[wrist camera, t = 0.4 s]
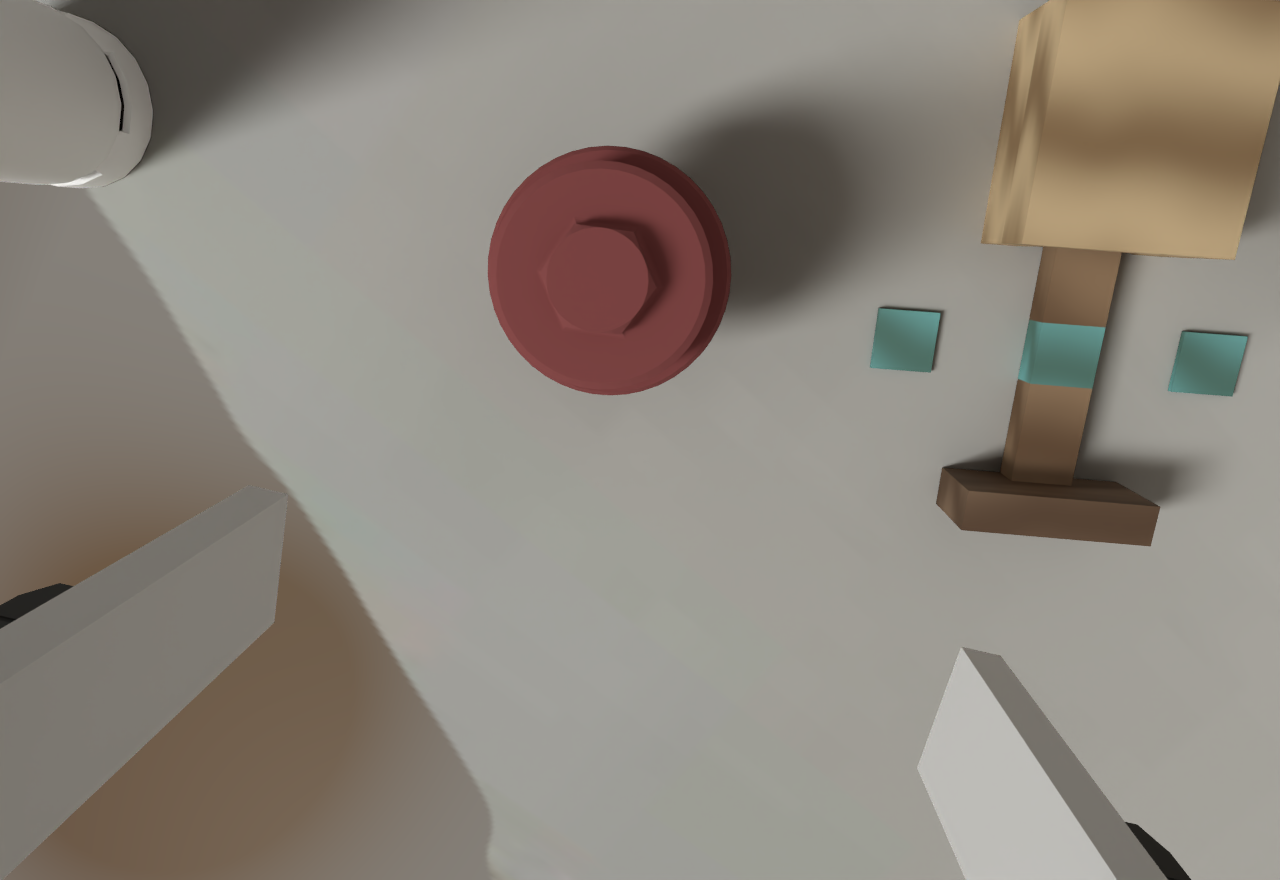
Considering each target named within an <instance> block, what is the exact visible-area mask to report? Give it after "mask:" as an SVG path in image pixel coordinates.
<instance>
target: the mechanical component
mask: <svg viewBox="0 0 1280 880" xmlns="http://www.w3.org/2000/svg"><path fill="white" fill-rule="evenodd" d="M488 280H489V289H490V295H491V299H492V302H493V306H494V310H495V312H496V315H497V317H498V320H499V322H500V325H501V327H502V328H503V330H504V332H505V334H506V335H507V337H508V339H509V340H510V342H511V343H512V344H513V346H514V347H515V348H516V349H517V351H518V352H519V353H520V354H521V355H522V356H523V357H524V358H525V359H526V360H527V361H528V362H529V363H530V364H531V365H532V366H533V367H534V368H536V369H537V370H538V371H540V372H541V373H542V374H544V375H545V376H547V377H548V378H550V379H552V380H554V381H556V382H558V383H559V384H562V385H564V386H567V387H569V388H572V389H575V390H578V391H582V392H587V393H591V394H601V395H622V394H630V393H635V392H640V391H644V390H647V389H649V388H652V387H655V386H658V385H660V384H662V383H664V382H666V381H668V380H669V379H671V378H673V377H675V376H676V375H677V374H679V373H680V372H682V371H683V370H684V369H686V368H687V367H688V366H689V365H690V364H691V363H692V362H693V361H694V360H695V359H696V358H697V357H699V356H700V354H701V353H702V352H703V351H704V350H705V348H706V347H707V345H708V344H709V343H710V341H711V339H712V338H713V336H714V334H715V332H716V331H717V329H718V327H719V325H720V322H721V320H722V317H723V315H724V312H725V309H726V305H727V301H728V297H729V292H730V282H731V260H730V253H729V247H728V242H727V238H726V235H725V232H724V229H723V226H722V223H721V221H720V219H719V217H718V215H717V213H716V211H715V209H714V207H713V205H712V204H711V203H710V201H709V200H708V198H707V197H706V195H705V194H704V193H703V191H702V190H701V189H700V188H699V187H698V186H697V185H696V184H695V183H694V182H693V181H692V180H691V178H689V177H688V176H687V175H686V174H684V173H683V172H682V171H681V170H679V169H678V168H677V167H675V166H674V165H672V164H670V163H668V162H667V161H665V160H663V159H661V158H660V157H657V156H654V155H652V154H649V153H647V152H644V151H641V150H636V149H632V148H627V147H617V146H599V147H588V148H584V149H580V150H576V151H572V152H569V153H567V154H564V155H562V156H559V157H557V158H555V159H553V160H551V161H550V162H548V163H546V164H545V165H543V166H541V167H540V168H539V169H537V170H536V171H535V172H534V173H532V174H531V175H530V176H529V177H527V178H526V179H525V180H524V182H523V183H522V184H521V185H520V186H519V187H518V188H517V189H516V190H515V191H514V193H513V194H512V196H511V197H510V199H509V200H508V202H507V203H506V205H505V206H504V208H503V210H502V212H501V214H500V216H499V219H498V221H497V223H496V226H495V229H494V232H493V235H492V239H491V244H490V250H489V256H488Z"/></svg>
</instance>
